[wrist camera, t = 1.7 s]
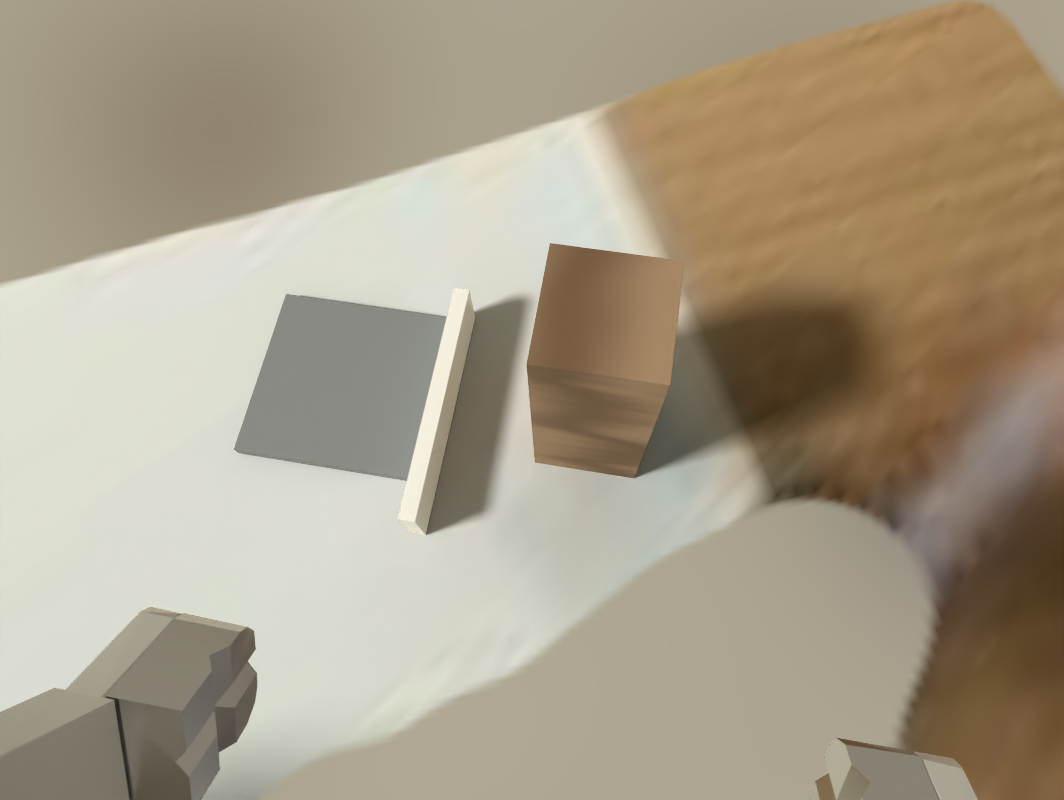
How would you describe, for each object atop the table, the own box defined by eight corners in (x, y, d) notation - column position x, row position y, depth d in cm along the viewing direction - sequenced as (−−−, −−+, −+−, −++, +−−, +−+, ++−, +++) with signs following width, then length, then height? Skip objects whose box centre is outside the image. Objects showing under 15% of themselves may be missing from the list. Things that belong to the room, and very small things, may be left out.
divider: (475, 317, 40) (469, 290, 37) (425, 535, 35) (414, 522, 33) (460, 315, 40) (453, 287, 37) (409, 532, 35) (397, 519, 33)
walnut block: (645, 386, 38) (684, 261, 27) (634, 478, 36) (670, 385, 25) (551, 372, 38) (550, 243, 27) (534, 462, 37) (526, 364, 25)
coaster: (448, 322, 40) (446, 317, 39) (409, 480, 36) (407, 477, 36) (289, 299, 40) (286, 294, 40) (238, 452, 37) (233, 449, 37)
